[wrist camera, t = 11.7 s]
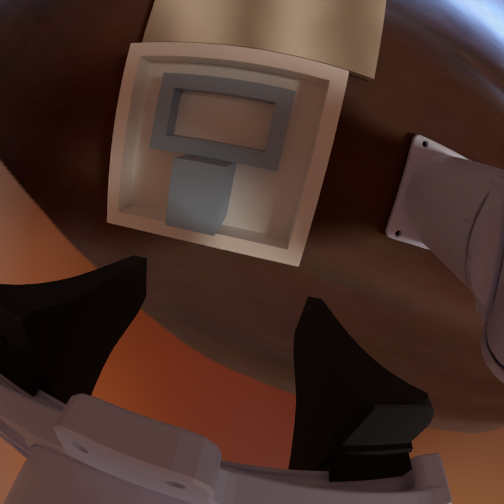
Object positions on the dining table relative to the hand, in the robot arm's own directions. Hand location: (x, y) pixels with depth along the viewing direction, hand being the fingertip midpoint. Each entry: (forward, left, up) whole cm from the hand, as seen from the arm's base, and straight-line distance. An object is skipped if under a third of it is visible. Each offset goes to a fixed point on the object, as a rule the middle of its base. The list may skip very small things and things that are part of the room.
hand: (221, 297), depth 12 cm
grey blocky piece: (+3, -5, -9) cm, 11 cm away
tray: (+3, -6, -9) cm, 11 cm away
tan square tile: (+2, -20, -9) cm, 22 cm away
